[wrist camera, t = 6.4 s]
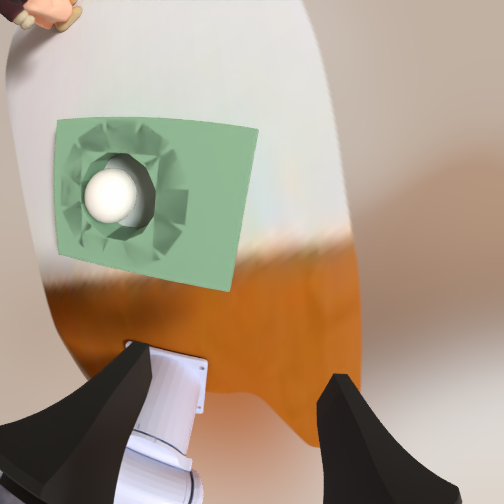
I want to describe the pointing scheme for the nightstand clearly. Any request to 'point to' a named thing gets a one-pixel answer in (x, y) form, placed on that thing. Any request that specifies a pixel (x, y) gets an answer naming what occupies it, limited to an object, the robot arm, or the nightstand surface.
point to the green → (158, 195)
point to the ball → (110, 195)
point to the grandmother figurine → (41, 13)
